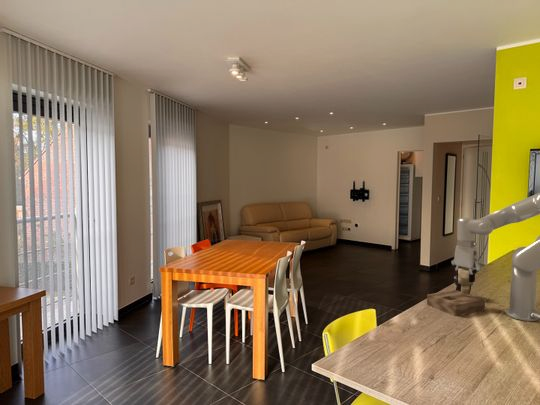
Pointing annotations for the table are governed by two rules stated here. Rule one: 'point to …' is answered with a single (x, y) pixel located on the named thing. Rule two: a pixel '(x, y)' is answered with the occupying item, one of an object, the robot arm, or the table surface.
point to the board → (455, 302)
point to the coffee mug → (458, 285)
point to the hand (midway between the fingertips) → (465, 280)
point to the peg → (464, 280)
